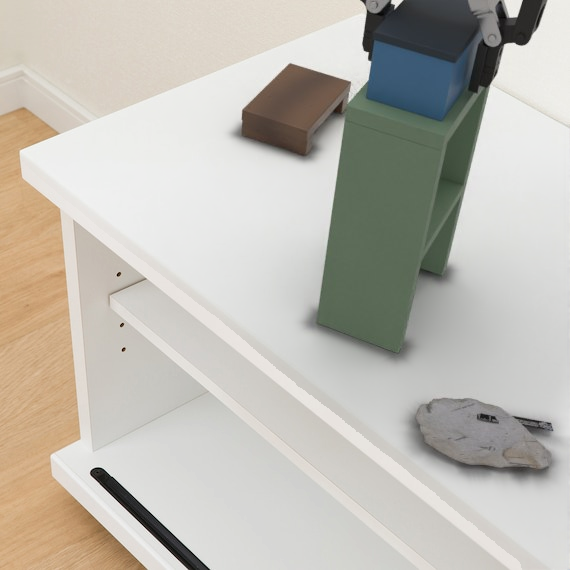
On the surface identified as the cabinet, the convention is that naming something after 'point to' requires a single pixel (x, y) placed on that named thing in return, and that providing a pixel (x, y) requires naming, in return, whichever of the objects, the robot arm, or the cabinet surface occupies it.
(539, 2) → the robot arm
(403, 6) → the box
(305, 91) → the brown footstool
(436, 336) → the cabinet surface
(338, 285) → the high shelf
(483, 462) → the grey tagged lumpy block
